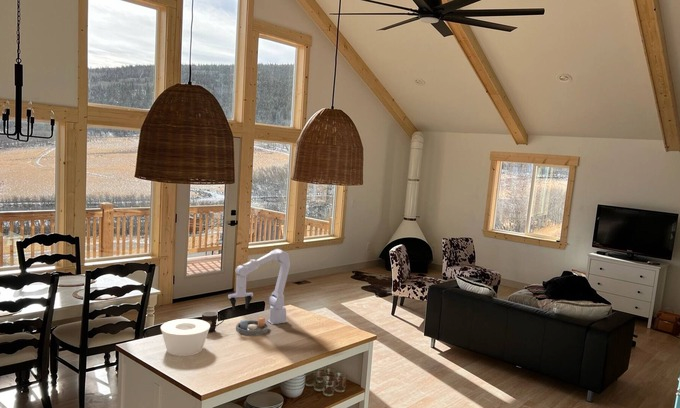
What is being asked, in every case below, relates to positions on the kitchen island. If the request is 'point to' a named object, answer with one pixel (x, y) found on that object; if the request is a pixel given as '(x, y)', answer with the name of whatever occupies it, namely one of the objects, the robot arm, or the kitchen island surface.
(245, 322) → the slate bead
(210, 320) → the coffee mug
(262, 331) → the groove tray
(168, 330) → the bowl
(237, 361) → the kitchen island surface
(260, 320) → the terracotta bead
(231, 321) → the kitchen island surface
